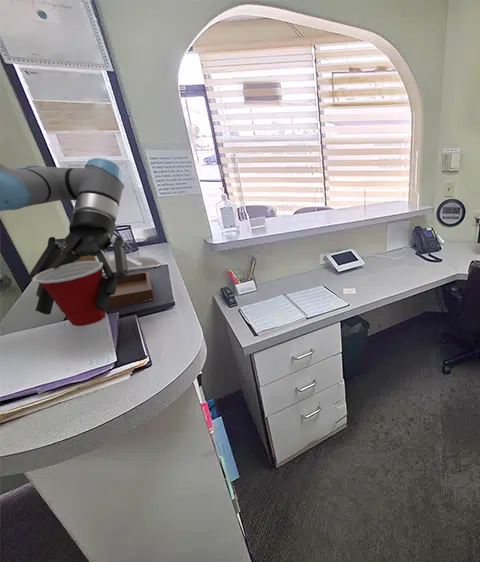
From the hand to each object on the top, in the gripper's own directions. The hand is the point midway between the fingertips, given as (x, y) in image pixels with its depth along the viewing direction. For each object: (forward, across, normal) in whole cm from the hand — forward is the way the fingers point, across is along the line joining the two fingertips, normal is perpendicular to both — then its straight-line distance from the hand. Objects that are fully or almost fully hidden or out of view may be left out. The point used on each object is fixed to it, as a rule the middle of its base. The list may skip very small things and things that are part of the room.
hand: (72, 310), depth 63 cm
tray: (-14, +7, -27) cm, 31 cm away
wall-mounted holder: (-32, +15, -45) cm, 57 cm away
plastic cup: (+1, 0, -5) cm, 5 cm away
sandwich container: (-23, +22, -37) cm, 49 cm away
